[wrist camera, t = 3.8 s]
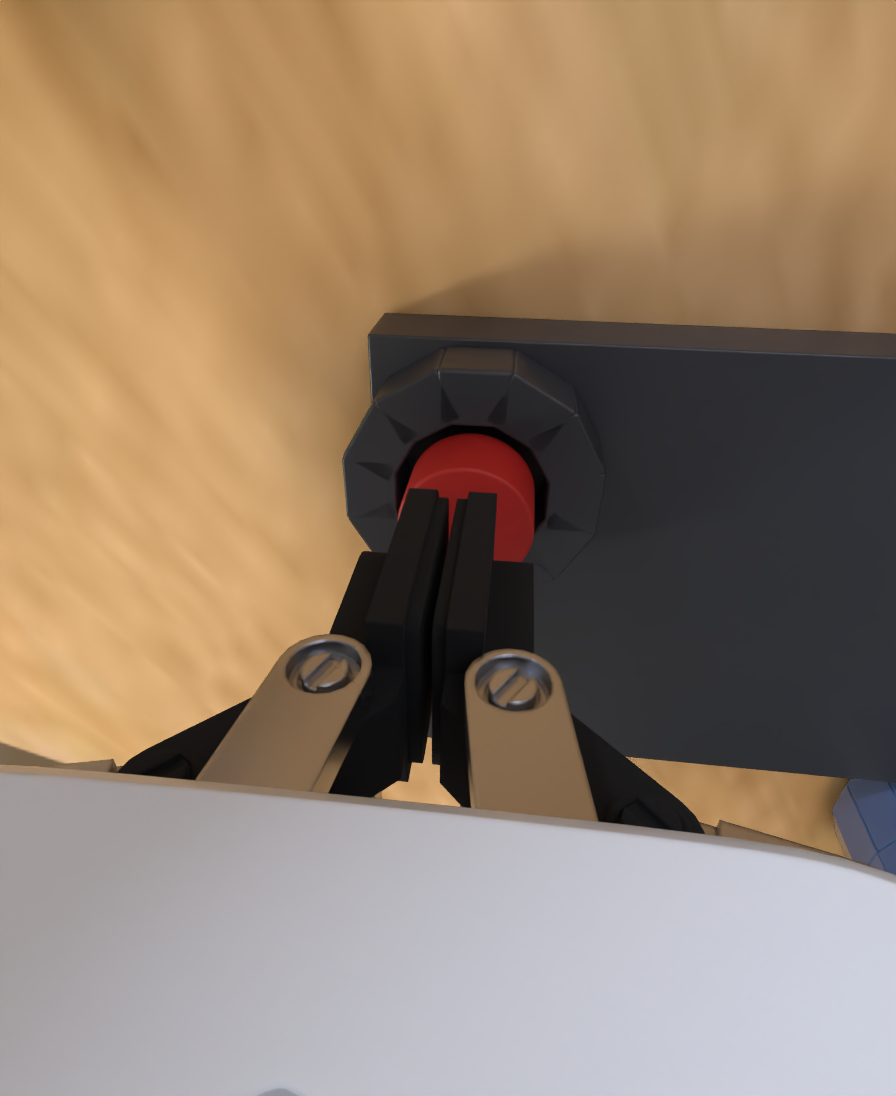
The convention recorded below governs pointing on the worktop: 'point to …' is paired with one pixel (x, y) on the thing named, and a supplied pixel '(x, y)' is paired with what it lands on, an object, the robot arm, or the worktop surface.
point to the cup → (867, 823)
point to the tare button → (483, 485)
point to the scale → (677, 521)
